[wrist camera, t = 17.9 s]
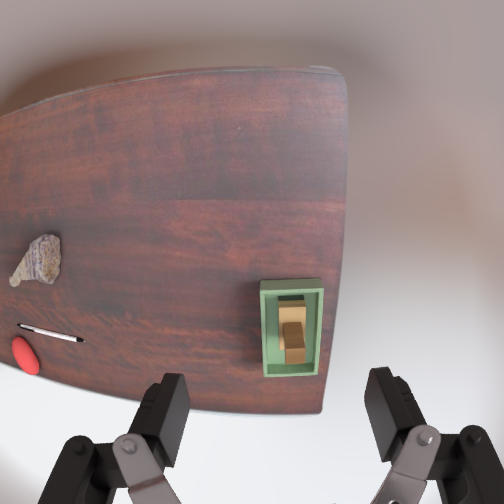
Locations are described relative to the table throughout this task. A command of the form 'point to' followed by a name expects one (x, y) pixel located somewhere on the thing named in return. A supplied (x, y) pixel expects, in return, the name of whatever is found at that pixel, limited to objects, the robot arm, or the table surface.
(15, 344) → the stress ball
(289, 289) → the tray
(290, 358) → the scrub brush
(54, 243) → the mineral specimen
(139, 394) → the table surface
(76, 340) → the pen
